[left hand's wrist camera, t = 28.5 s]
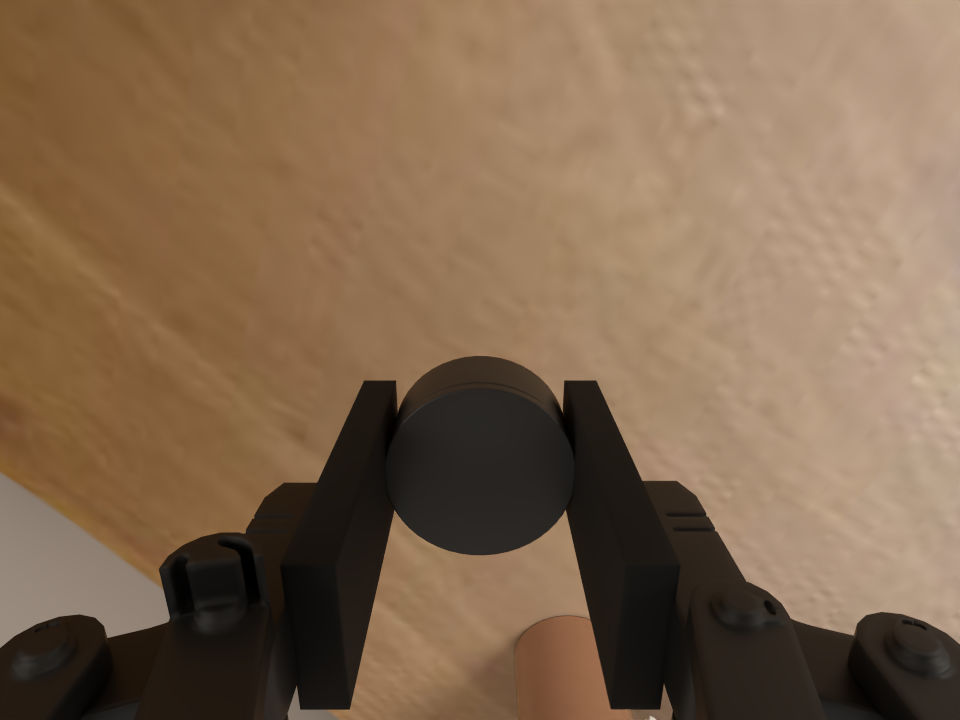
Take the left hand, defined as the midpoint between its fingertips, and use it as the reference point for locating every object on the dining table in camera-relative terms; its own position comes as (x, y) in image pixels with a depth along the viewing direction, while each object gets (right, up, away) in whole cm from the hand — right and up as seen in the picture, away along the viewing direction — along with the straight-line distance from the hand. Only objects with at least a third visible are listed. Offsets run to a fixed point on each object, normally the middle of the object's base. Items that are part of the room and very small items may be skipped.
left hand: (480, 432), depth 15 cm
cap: (0, -1, -2) cm, 2 cm away
